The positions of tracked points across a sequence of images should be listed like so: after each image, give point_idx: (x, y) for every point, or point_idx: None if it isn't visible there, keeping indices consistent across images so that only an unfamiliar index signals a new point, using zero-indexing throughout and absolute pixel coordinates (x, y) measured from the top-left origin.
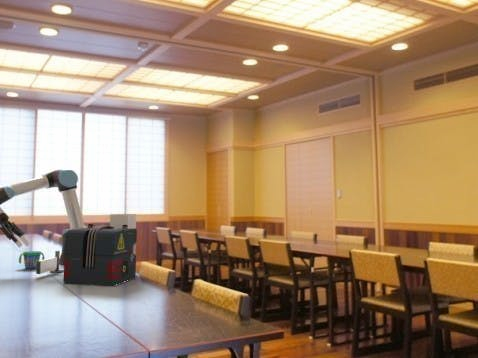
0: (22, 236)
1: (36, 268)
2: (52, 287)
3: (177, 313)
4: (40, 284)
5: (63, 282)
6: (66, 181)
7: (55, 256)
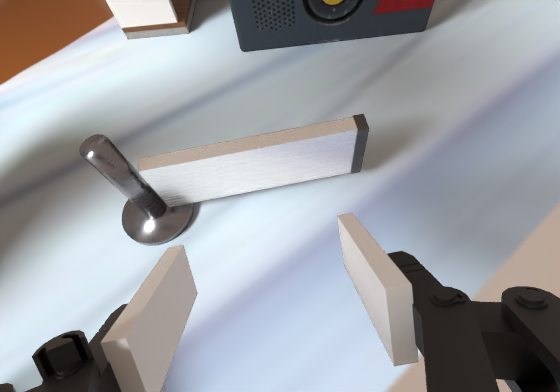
0: (141, 340)
1: (363, 154)
2: (496, 21)
3: None
4: (478, 74)
5: (425, 26)
6: None
7: (125, 172)
